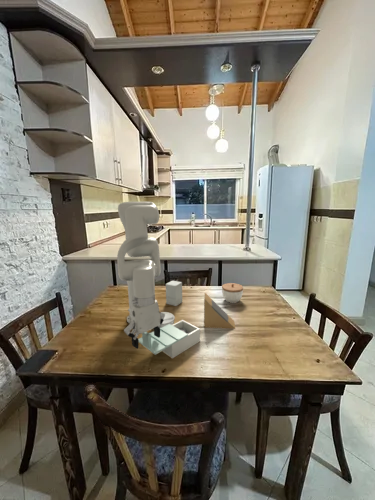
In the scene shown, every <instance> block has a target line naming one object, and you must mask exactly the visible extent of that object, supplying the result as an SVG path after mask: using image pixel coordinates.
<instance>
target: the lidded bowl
mask: <svg viewBox="0 0 375 500" xmlns="http://www.w3.org/2000/svg"><path fill="white" fill-rule="evenodd" d="M243 290H244V287H243V285H242V284H239V283H233V282H229V283H224V284H222V285H221V292H222V296H223V299H224V300H225V301H226V302H227V303H229V302H230V304H236V303H239V301H240V300H241V299H242V297H243V293H244V291H243Z"/></svg>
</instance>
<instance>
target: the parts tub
mask: <svg viewBox="0 0 375 500" xmlns="http://www.w3.org/2000/svg"><path fill="white" fill-rule="evenodd" d="M172 326H174V327H176V328H178V329H179V330H181V331H183V332H185V333H187V334H188V336H187V337H185V338H184V339H182V340H180V341H178V342H177V343H175V344H173V345H171V346H170V347H168V348H166V349H164V350H163V351H162V352H163V353H164V354H166V355H167V356H168V357H170V358H171V359H174V358H175V357H177V356H178V355H180V354H182V353H184V352H185V351H187V350H188V349H190V348H192V347H193V346H195V345H197V344H198V343H199V342H200V341H201V328H199V327H197V326H195V325H194V324H192V323H190V322H188V321H186V320H184V319H181V320H179V321H178V322H176V323H175V322H174V324H173V325H172Z"/></svg>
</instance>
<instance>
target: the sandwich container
mask: <svg viewBox="0 0 375 500" xmlns="http://www.w3.org/2000/svg"><path fill="white" fill-rule="evenodd" d="M203 299H204V301H203V303H204V304H203V305H204V306H203V307H204V308H203V328H205V329H206V328H208V329H209V328H210V329H211V328H212V329H232V330H233V329H235V330H236V323H235V320H234V319H233V318H232V317H231V316H230V315H229V314H228V313H227V312H226V311H224V309H222V308H221V306H219V305H218V304H217V303H216V301H214V299H212V298H211V297H210V295H208V294H207V293H206V292H204V298H203Z"/></svg>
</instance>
